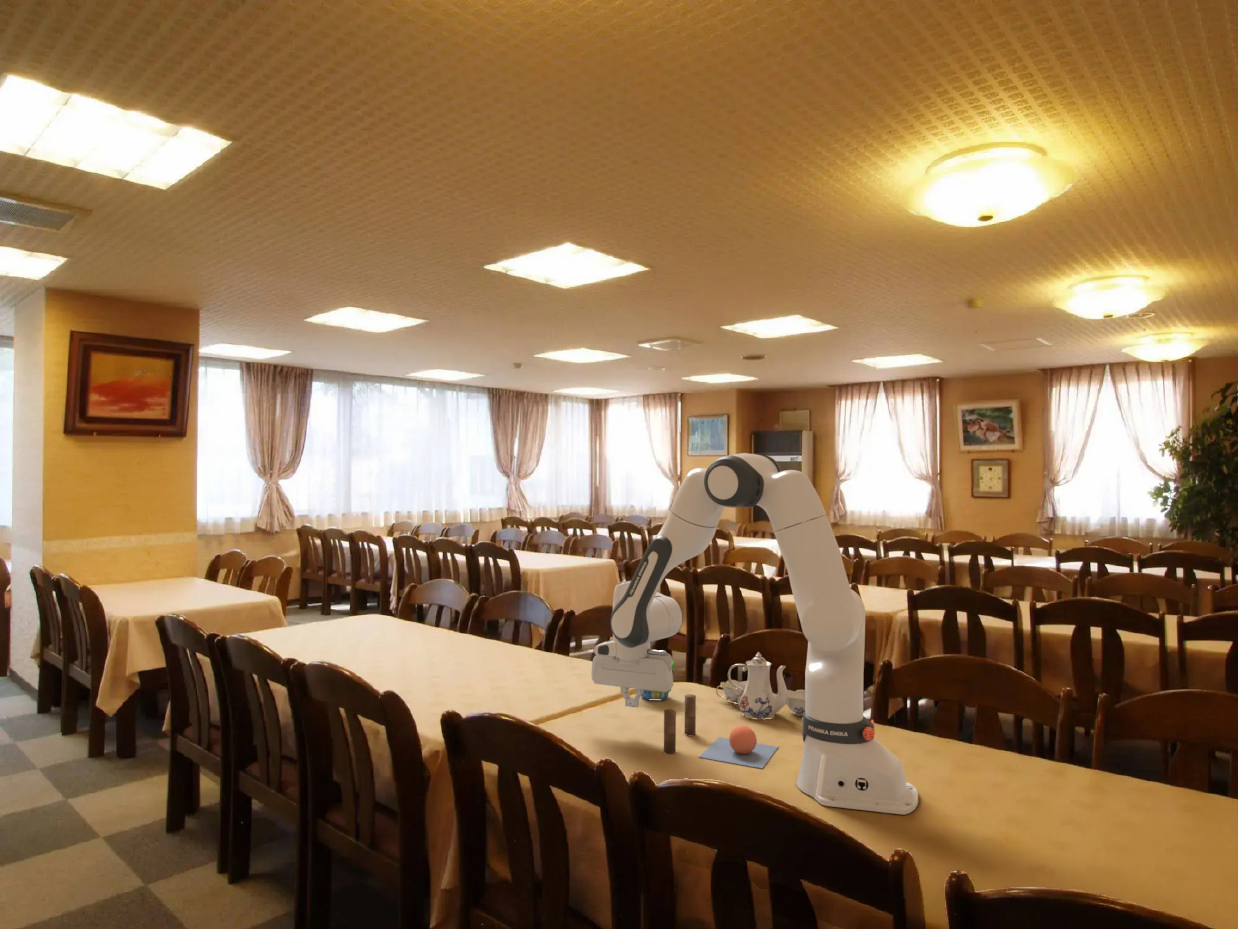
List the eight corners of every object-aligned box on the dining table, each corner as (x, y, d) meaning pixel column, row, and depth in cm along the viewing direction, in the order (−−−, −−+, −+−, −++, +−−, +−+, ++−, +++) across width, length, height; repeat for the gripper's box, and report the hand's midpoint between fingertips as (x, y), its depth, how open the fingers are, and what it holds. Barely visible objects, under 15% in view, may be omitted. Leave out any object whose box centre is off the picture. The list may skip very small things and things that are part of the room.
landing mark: (778, 747, 166) (778, 746, 166) (762, 769, 153) (762, 768, 153) (718, 738, 172) (718, 737, 172) (698, 757, 159) (698, 757, 159)
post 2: (697, 733, 175) (697, 695, 175) (693, 736, 173) (693, 698, 173) (686, 731, 176) (687, 693, 177) (683, 734, 174) (683, 696, 174)
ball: (741, 716, 166) (729, 738, 167) (733, 724, 160) (720, 746, 161) (764, 733, 163) (751, 754, 164) (757, 741, 158) (744, 764, 159)
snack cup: (682, 704, 198) (683, 666, 198) (646, 707, 195) (646, 669, 195) (662, 689, 213) (662, 653, 213) (628, 691, 210) (628, 655, 210)
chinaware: (822, 718, 193) (823, 653, 195) (810, 730, 178) (811, 660, 180) (720, 703, 205) (722, 642, 207) (700, 713, 190) (703, 648, 192)
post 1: (677, 750, 163) (677, 710, 164) (673, 754, 161) (673, 713, 161) (666, 749, 164) (666, 708, 165) (662, 752, 162) (662, 711, 162)
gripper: (676, 648, 173) (677, 708, 173) (600, 641, 182) (600, 698, 182) (666, 654, 168) (667, 715, 167) (588, 646, 176) (588, 705, 176)
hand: (632, 706), depth 174 cm, fingers closed
